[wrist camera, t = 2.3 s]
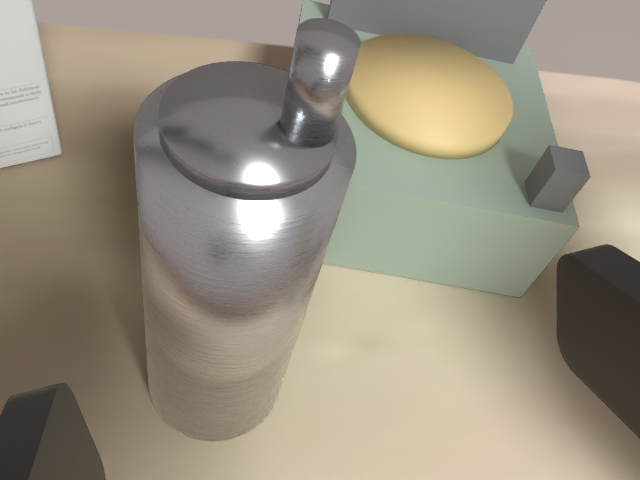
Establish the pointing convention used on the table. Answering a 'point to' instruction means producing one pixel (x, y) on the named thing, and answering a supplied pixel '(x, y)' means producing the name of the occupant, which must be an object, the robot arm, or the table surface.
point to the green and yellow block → (451, 146)
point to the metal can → (238, 224)
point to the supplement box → (24, 89)
